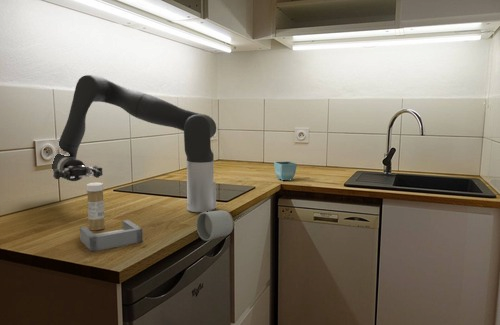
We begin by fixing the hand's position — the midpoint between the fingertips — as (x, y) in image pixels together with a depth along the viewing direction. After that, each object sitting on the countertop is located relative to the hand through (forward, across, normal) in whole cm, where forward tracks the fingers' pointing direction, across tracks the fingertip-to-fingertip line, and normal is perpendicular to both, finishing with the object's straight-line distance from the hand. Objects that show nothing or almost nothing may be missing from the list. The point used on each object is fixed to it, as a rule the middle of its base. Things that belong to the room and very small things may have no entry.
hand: (83, 175), depth 120 cm
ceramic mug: (+37, +24, +14) cm, 46 cm away
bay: (+24, 0, +14) cm, 28 cm away
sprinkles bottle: (+11, 0, +14) cm, 18 cm away
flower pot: (-17, +100, +14) cm, 103 cm away
